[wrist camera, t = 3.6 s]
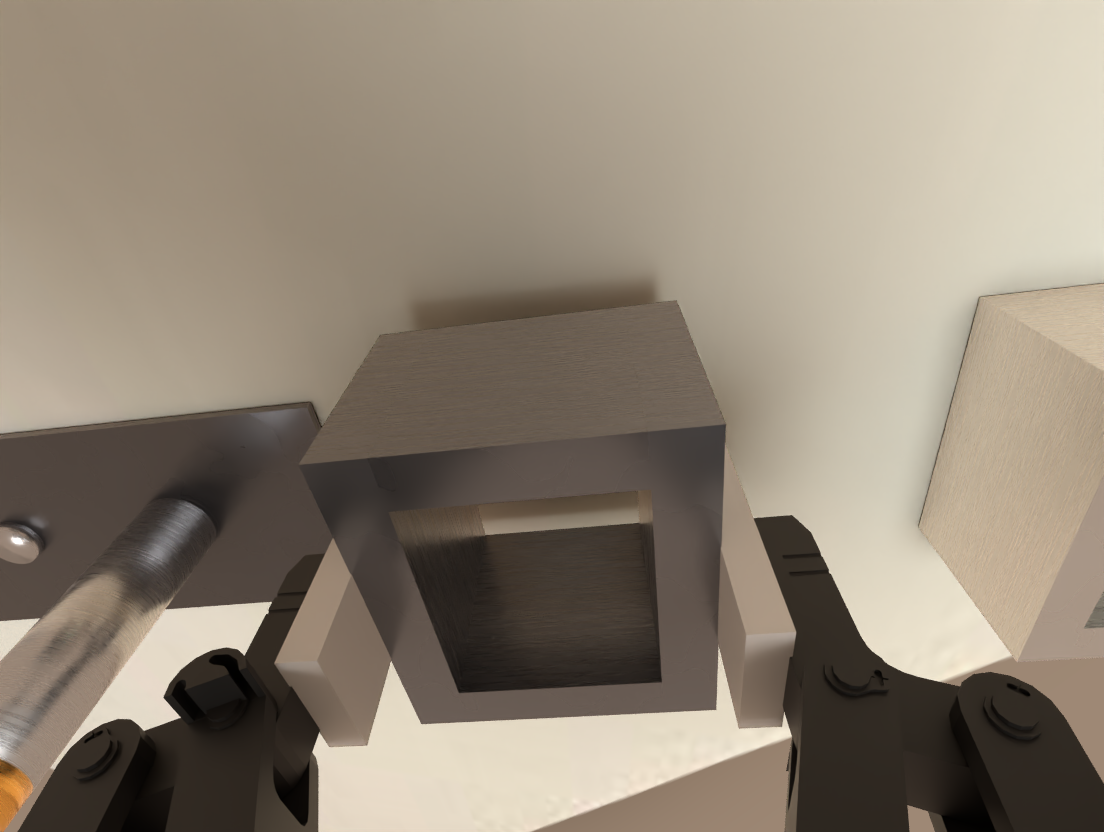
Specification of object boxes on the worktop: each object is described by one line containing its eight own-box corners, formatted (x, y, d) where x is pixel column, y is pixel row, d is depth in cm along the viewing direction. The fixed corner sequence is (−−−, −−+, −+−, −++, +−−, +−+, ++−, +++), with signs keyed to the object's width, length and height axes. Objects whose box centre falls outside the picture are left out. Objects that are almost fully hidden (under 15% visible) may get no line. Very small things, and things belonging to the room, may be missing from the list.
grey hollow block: (380, 334, 14) (298, 465, 10) (676, 300, 13) (725, 424, 9) (455, 565, 18) (421, 724, 14) (681, 548, 18) (716, 709, 13)
